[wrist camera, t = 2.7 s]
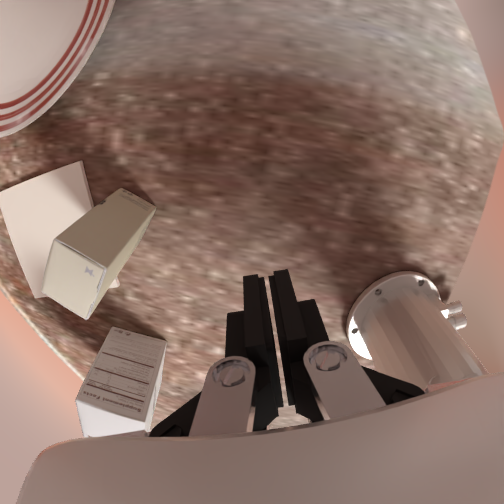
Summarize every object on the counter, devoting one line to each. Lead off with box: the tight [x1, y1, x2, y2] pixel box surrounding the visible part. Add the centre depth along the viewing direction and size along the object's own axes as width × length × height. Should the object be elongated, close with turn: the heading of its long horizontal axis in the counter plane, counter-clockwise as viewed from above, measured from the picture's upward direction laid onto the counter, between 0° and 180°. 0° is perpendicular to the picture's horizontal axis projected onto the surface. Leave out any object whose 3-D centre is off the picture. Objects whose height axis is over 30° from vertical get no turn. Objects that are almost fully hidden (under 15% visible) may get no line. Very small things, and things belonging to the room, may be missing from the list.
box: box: [41, 188, 156, 320], centre depth 24 cm, size 5×4×13 cm
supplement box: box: [75, 327, 167, 437], centre depth 31 cm, size 7×7×13 cm
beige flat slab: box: [0, 160, 120, 298], centre depth 30 cm, size 13×14×1 cm
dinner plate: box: [0, 0, 115, 137], centre depth 19 cm, size 27×27×3 cm
